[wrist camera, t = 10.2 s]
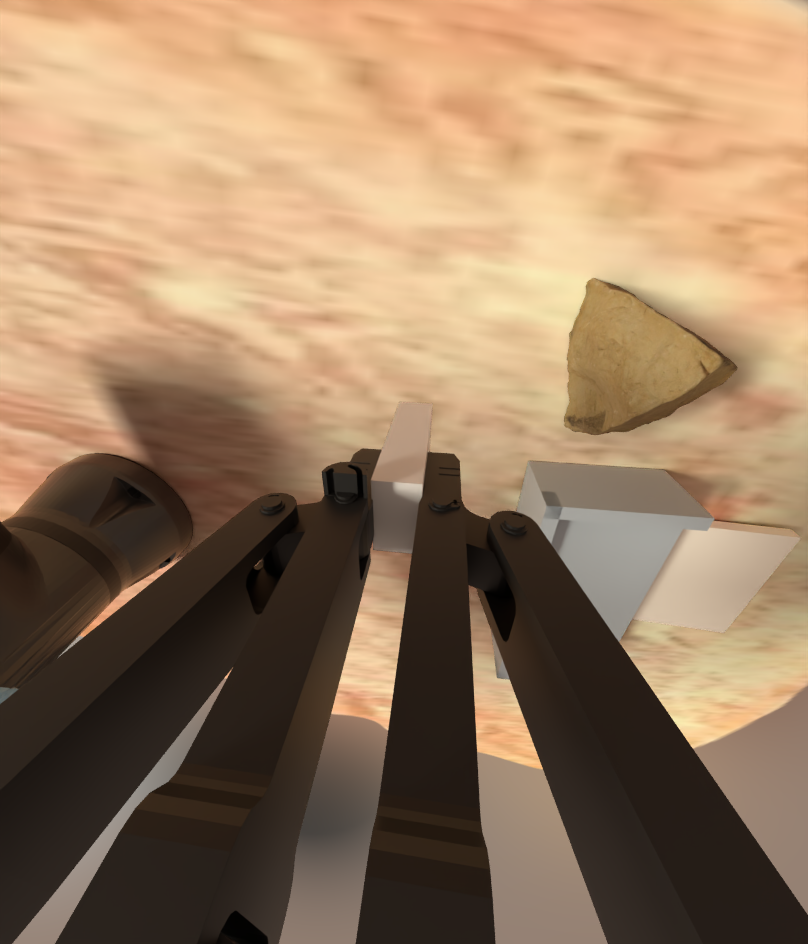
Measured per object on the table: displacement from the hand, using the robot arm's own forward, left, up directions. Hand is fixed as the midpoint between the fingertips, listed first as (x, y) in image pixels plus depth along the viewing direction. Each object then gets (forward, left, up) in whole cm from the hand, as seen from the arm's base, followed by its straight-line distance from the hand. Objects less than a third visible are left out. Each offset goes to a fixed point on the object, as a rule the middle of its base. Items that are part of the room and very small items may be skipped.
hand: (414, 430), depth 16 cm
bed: (+16, -21, -15) cm, 30 cm away
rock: (+13, 0, -15) cm, 20 cm away
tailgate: (+23, -21, -15) cm, 35 cm away
